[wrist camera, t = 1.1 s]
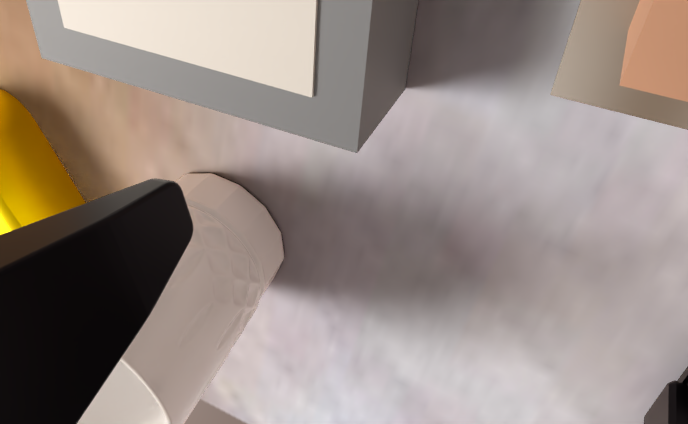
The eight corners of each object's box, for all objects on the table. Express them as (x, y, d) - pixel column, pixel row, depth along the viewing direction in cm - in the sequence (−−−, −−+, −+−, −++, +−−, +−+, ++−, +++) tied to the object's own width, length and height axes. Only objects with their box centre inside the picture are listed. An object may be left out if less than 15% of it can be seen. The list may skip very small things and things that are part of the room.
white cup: (216, 132, 26) (44, 284, 19) (328, 264, 28) (210, 444, 21) (132, 196, 31) (-29, 335, 24) (232, 304, 34) (111, 461, 26)
